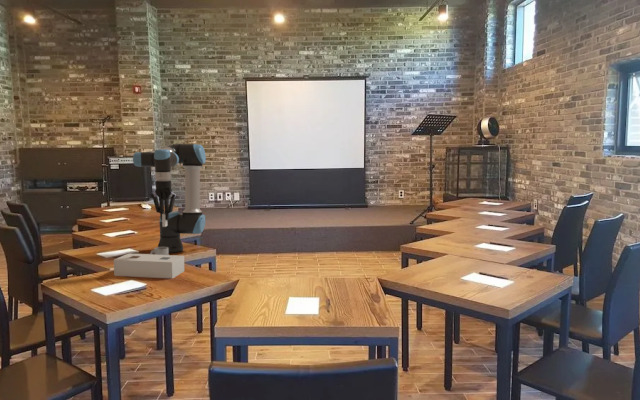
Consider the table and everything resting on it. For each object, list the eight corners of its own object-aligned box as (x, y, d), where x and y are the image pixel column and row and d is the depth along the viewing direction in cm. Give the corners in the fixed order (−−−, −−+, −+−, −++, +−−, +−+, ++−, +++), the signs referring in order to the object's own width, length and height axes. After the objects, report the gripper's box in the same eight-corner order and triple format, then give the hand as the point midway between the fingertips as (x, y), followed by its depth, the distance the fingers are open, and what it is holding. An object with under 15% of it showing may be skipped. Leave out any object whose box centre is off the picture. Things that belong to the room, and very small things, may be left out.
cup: (166, 266, 252) (165, 249, 251) (147, 265, 253) (147, 249, 252) (170, 262, 260) (170, 246, 259) (152, 262, 260) (152, 246, 259)
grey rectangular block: (129, 268, 247) (128, 253, 246) (184, 271, 243) (184, 255, 242) (114, 275, 233) (113, 259, 232) (172, 278, 229) (172, 262, 228)
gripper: (147, 180, 236) (149, 227, 239) (172, 181, 235) (174, 228, 238) (154, 179, 243) (156, 224, 247) (178, 179, 242) (180, 225, 245)
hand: (164, 226), depth 242 cm, fingers closed
